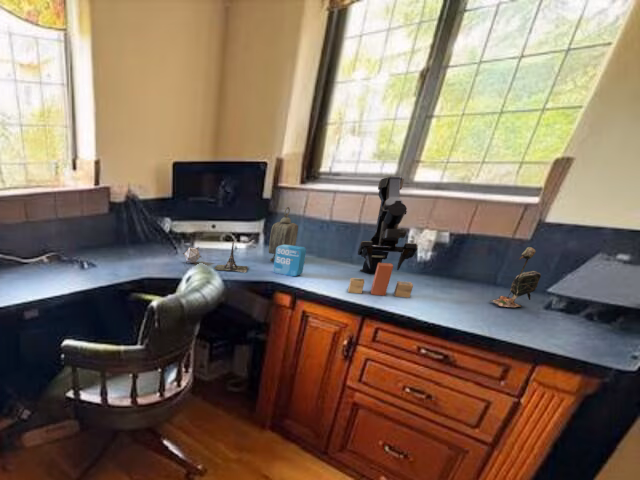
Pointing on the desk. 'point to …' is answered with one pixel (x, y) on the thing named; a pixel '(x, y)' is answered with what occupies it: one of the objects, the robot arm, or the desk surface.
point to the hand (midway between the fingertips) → (384, 268)
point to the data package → (289, 260)
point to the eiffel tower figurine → (231, 264)
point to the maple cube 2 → (403, 289)
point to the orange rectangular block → (381, 279)
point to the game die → (192, 255)
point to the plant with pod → (521, 283)
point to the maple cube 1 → (356, 285)
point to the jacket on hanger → (282, 234)
